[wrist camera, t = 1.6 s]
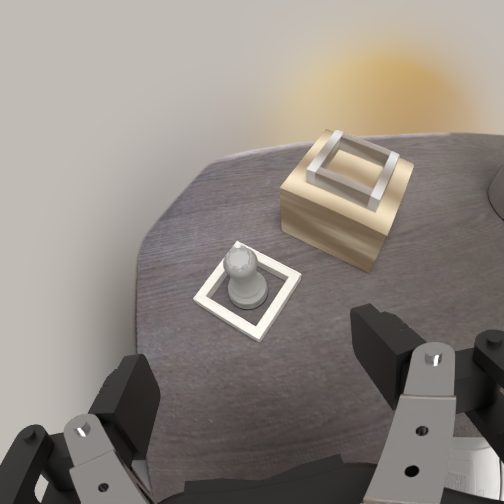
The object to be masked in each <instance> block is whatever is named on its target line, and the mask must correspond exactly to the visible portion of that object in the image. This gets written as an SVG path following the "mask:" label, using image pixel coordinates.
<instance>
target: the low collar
mask: <svg viewBox="0 0 504 504" xmlns="http://www.w3.org/2000/svg"><path fill="white" fill-rule="evenodd" d="M234 246H235V247H236V248H240V246H246V245H244V244H242V243H240V242H238V241H237V242H236V243H235V244H234ZM234 246H233V247H234ZM246 248H248V249H250V250H252V251H253V252H254V253H255V254H256V256H257V259H258V265H257V266H258V267H260V268H262V269H264V270H266V271H268V272H269V273H271V274H273V275H275V276H277V277H279V278H281V279H283V280H285V281H286V282H285V284H284V285H283V287H282V288H281V290H280V291H279V293H278V294H277V296H276V298H275V299H274V301H273V302H272V304H271V305H270V307H269V308H268V310H267V311H266V313H265V314H264V316H263V317H262V319H261V320H260V322H259V323H258V325H257V326H254V325H252V324H251V323H249V322H247V321H246V320H244V319H242V318H241V317H239V316H237V315H236V314H234V313H232V312H231V311H229V310H227V309H226V308H224V307H222V306H221V305H219V304H218V303H216V302H214V301H213V300H211V297H212V296H213V294H214V293H215V292H216V290H217V289H218V288H219V286H220V285H221V284H222V282H223V281H224V280H225V278H226V277H227V276H228V274H227V273H226V271H225V270H224V268H223V261H224V259H223V260H222V261H221V263H220V264H219V265H218V267H217V268H216V269H215V271H214V272H213V273H212V275H211V276H210V277H209V279H208V280H207V281H206V282H205V284H204V285H203V286H202V288H201V289H200V290H199V292H198V293H197V294H196V296H195V297H194V298H193V299H194V300H195V302H196V303H197V304H198V305H200V306H201V307H203V308H204V309H206V310H207V311H209V312H211V313H212V314H214V315H215V316H217V317H218V318H220V319H222V320H223V321H225V322H226V323H228V324H230V325H231V326H233V327H234V328H236V329H238V330H239V331H241V332H243V333H244V334H246V335H248V336H249V337H251V338H253V339H254V340H256V341H258V342H259V343H260V342H261V341H262V339H263V338H264V336H265V335H266V333H267V332H268V330H269V329H270V327H271V326H272V324H273V323H274V321H275V320H276V318H277V317H278V315H279V313H280V312H281V310H282V309H283V307H284V306H285V304H286V302H287V301H288V299H289V298H290V296H291V295H292V293H293V291H294V290H295V288H296V287H297V285H298V283H299V282H300V280H301V273H299V272H297V271H295V270H293V269H291V268H289V267H287V266H285V265H283V264H281V263H279V262H277V261H275V260H273V259H271V258H269V257H267V256H265V255H263V254H261V253H260V252H258V251H256V250H254V249H252V248H250V247H248V246H246ZM230 251H231V250H230ZM230 251H229V252H230ZM229 252H228V253H229Z"/></svg>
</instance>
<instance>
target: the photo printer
mask: <svg viewBox="0 0 504 504" xmlns="http://www.w3.org/2000/svg"><path fill="white" fill-rule="evenodd" d="M444 487H447V488H450V489H454V490H457V491H461V492H465V493H469V494H473V495H477V496H482V497H486V498H491V499H496V500H501V501H504V464H503V462H502V461H501V460H500V458H499V457H498V456H497V454H496V453H495V452H494V450H493V449H492V448H491V446H490V445H489V444H488V442H487V441H486V440H485V438H484V437H480V438H473V437H453V438H452V446H451V452H450V458H449V464H448V470H447V475H446V480H445V484H444Z"/></svg>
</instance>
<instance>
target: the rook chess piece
mask: <svg viewBox="0 0 504 504" xmlns="http://www.w3.org/2000/svg"><path fill="white" fill-rule="evenodd" d="M257 265H258V259H257V256H256V254H255V253H254V252H253V251H252V250H250V249H248V248H246V246H240V248H236V247H235V246H234V247H232V248H231V251H230V252H229V253H228V252H227V254H226V256H225V258H224V261H223V268H224V270H225V271H226V273H227V274H228V275H229V276H230V278H231V279H230V281H229V284H228V294H229V297H230V299H231V301H232V303H233V304H235V305H236V306H237V307H239V308H243V309H252V308H256V307H257V306H259V305H261V304H262V303H263V302H264V300H265V299H266V297H267V294H268V286H267V283H266V280H265V279H264V277H263V275H262V274H260V273H259V272H257Z"/></svg>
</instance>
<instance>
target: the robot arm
mask: <svg viewBox="0 0 504 504" xmlns="http://www.w3.org/2000/svg"><path fill="white" fill-rule="evenodd" d="M488 196H489V199H490V202H491V204H492V206H493V208H494V209H495V211H496V212H497V213H498V214H499V216H500V217H502V218H503V219H504V163H503V165H502V166H501V168H500V170H499V171H498V173H497V175H496V177H495V178H494V180H493V182H492V183H491V185H490V187H489V189H488ZM350 318H351V330H352V344H353V349H354V353H355V355H356V357H357V359H358V361H359V362H360V363H361V365H362V366H363V368H364V369H365V371H366V372H367V373H368V375H369V376H370V378H371V379H372V381H373V382H374V384H375V385H376V386H377V388H378V389H379V391H380V392H381V394H382V395H383V397H384V398H385V400H386V401H387V402H388V404H389V405H390V407H391V408H392V410H395V409H396V412H395V416H394V419H393V422H392V426H391V429H390V432H389V435H388V438H387V441H386V444H385V447H384V449H383V452H382V455H381V458H380V460H379V463H378V465H377V464H371V463H360V462H357V463H343V461H342V458H341V456H340V454H337V455H334V456H331V457H327V458H324V459H320V460H317V461H313V462H309V463H305V464H301V465H299V466H297V467H295V468H292V469H290V470H288V471H285V472H283V473H281V474H278V475H276V476H273V477H271V478H268V479H266V480H261V481H254V480H235V479H212V480H200V481H185V489H184V492H181V493H178V494H175V495H173V496H170V497H168V498H166V499H164V500H162V501H161V502H159V503H158V502H157V500H156V499H155V498H154V497H153V495H152V494H151V493H150V491H149V490H148V488H147V487H146V486H145V484H144V483H143V481H142V480H141V479H140V477H139V476H138V474H137V473H136V471H135V470H134V468H133V467H132V466H131V464H132V461H133V460H145V458H146V454H147V449H148V445H149V441H150V437H151V433H152V429H153V425H154V421H155V418H156V414H157V410H158V406H159V402H160V389H159V386H158V384H157V381H156V379H155V377H154V375H153V373H152V370H151V368H150V366H149V363H148V361H147V359H146V357H145V356H144V355H143V354H137V355H129V356H125V357H124V358H123V359H122V361H121V363H120V365H119V367H118V369H115V370H114V371H113V372H112V373H111V374H110V375H109V376H108V377H107V378H106V380H105V382H104V384H103V387H101V389H100V391H99V394H98V395H97V397H96V398H95V400H94V402H93V404H92V406H91V408H90V410H89V412H88V414H82V415H79V416H76V417H74V418H73V419H71V420H70V421H69V422H68V423H67V424H66V426H65V428H64V432H63V433H58V434H53V435H49V434H48V433H47V432H46V430H45V429H44V428H43V426H41V425H30V426H28V427H26V428H24V429H23V430H22V431H21V432H20V433H19V434H18V435H17V437H16V438H15V440H14V442H13V443H12V445H11V447H10V449H9V451H8V452H7V454H6V456H5V458H4V459H3V461H2V463H1V465H0V504H81V503H82V504H504V501H501V500H496V499H491V498H486V497H482V496H477V495H473V494H469V493H465V492H461V491H457V490H454V489H450V488H447V487H444V484H445V480H446V475H447V470H448V464H449V458H450V452H451V446H452V438H453V430H454V421H455V414H458V413H462V412H464V413H465V414H466V415H467V416H468V418H469V419H470V420H471V421H472V423H473V424H474V425H475V427H476V428H477V429H478V430H479V432H480V433H481V434H482V436H483V437H484V438H485V440H486V441H487V442H488V444H489V445H490V446H491V448H492V449H493V450H494V452H495V453H496V454H497V456H498V457H499V458H500V460H501V461H502V462H503V464H504V395H503V394H502V393H501V392H500V388H501V387H502V388H503V389H504V332H503V331H500V330H487V331H484V332H482V333H480V334H479V335H478V336H477V337H476V339H475V345H474V348H470V349H465V350H461V351H455V352H454V350H453V349H452V348H451V347H450V346H449V345H447V344H444V343H440V342H430V343H427V342H426V341H425V340H424V339H423V338H421V337H420V336H419V335H418V334H417V333H416V332H415V331H413V330H412V329H411V328H409V326H408V325H407V324H405V323H403V321H402V320H401V319H400V318H398V317H397V316H396V315H394V314H391V313H388V312H382V313H380V312H379V311H378V310H377V309H376V308H375V307H374V306H372V305H371V304H370V303H369V304H365V305H362V306H359V307H355V308H352V309H351V311H350ZM40 474H41V475H42V476H43V477H44V478H45V479H46V480H47V481H48V482H49V483H48V486H47V488H46V491H45V494H44V496H43V499H42V502H41V503H40V502H39V501H38V500H37V498H36V496H35V492H34V490H35V486H36V483H37V481H38V479H39V476H40Z"/></svg>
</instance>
